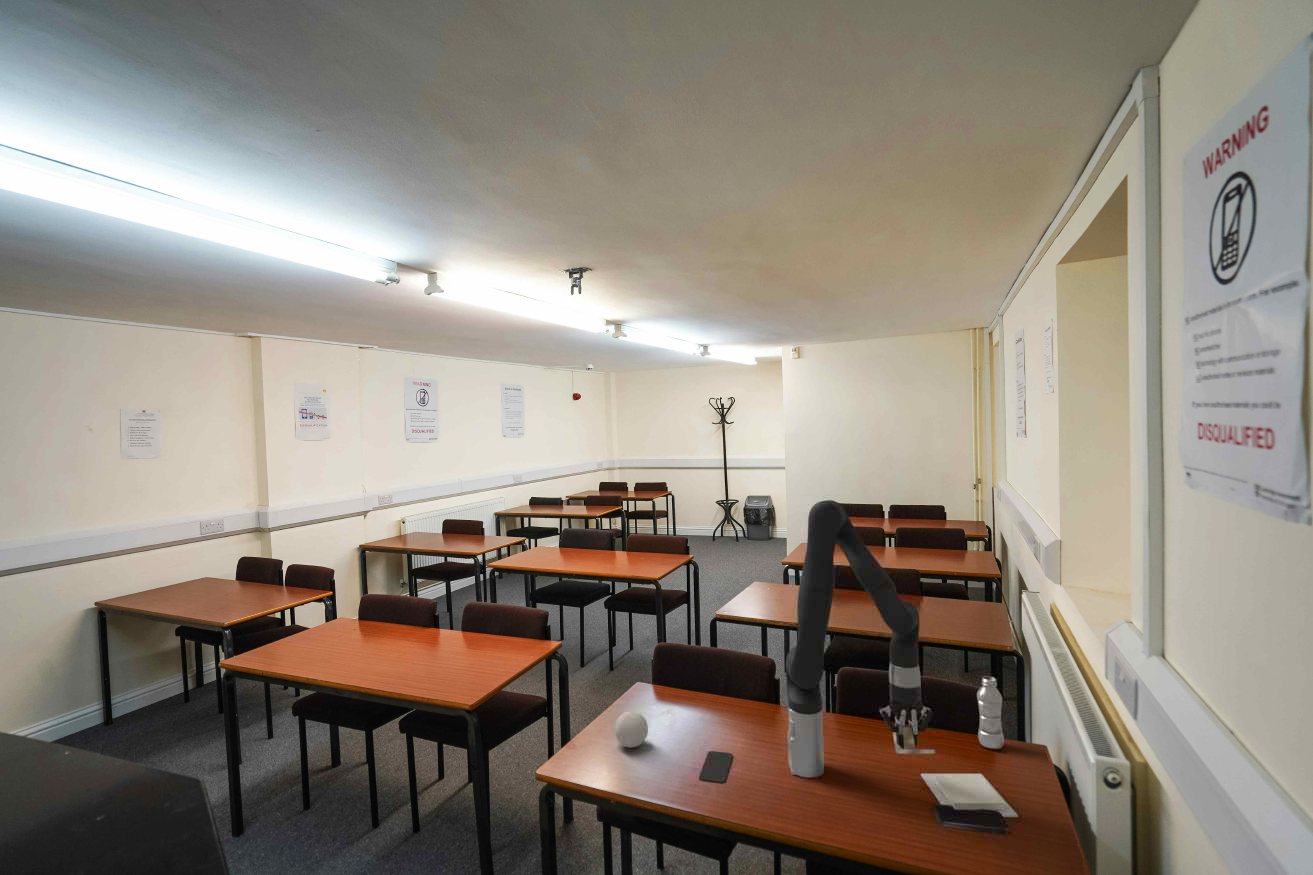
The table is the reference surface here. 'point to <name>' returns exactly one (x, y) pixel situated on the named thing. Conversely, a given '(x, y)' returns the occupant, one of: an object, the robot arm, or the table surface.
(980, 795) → the tile
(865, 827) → the table surface
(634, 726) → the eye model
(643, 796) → the table surface
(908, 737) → the scraper
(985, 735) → the plastic bottle
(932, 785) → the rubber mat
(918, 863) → the table surface
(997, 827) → the phone
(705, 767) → the phone
